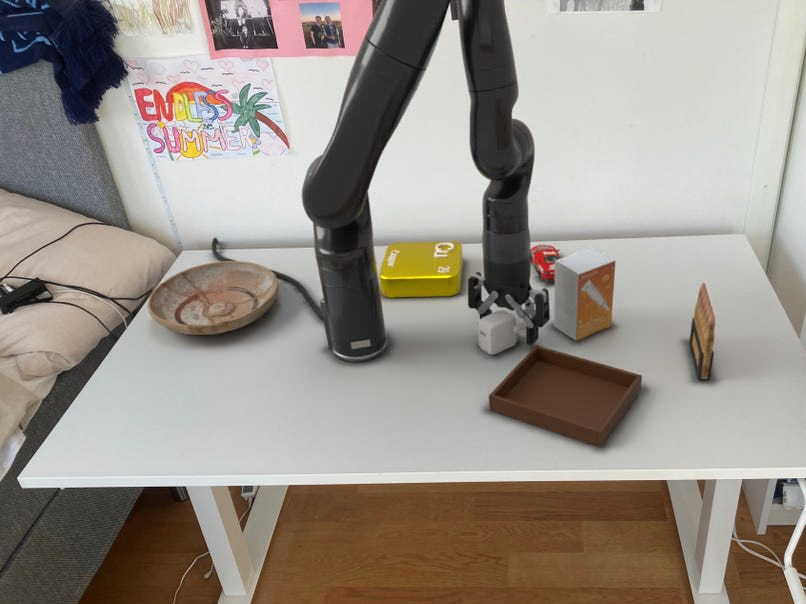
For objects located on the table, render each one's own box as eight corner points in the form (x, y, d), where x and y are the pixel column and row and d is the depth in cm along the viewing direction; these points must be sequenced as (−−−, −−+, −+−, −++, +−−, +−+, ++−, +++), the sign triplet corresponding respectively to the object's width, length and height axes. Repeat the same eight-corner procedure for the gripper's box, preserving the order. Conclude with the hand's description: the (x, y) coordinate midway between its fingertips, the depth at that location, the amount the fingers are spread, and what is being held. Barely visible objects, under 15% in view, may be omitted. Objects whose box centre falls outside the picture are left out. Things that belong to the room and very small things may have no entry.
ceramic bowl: (137, 352, 136) (128, 328, 133) (175, 286, 155) (168, 263, 152) (270, 344, 136) (264, 320, 133) (292, 279, 155) (287, 256, 152)
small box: (576, 342, 132) (578, 274, 125) (553, 326, 136) (553, 259, 129) (612, 326, 136) (616, 259, 128) (588, 311, 140) (591, 245, 133)
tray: (489, 410, 118) (488, 395, 117) (536, 359, 129) (536, 344, 127) (600, 447, 110) (601, 432, 108) (640, 389, 120) (642, 375, 119)
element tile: (390, 261, 160) (387, 239, 157) (463, 259, 159) (462, 237, 156) (380, 298, 147) (377, 276, 145) (459, 296, 146) (457, 274, 144)
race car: (527, 255, 159) (527, 237, 157) (553, 252, 159) (553, 234, 157) (541, 286, 148) (541, 267, 146) (569, 283, 149) (569, 264, 146)
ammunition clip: (688, 342, 130) (697, 279, 124) (700, 342, 130) (709, 279, 123) (697, 380, 122) (707, 315, 115) (710, 381, 121) (720, 315, 115)
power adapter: (525, 323, 138) (525, 294, 134) (544, 335, 134) (544, 305, 131) (475, 347, 132) (473, 317, 129) (493, 359, 129) (491, 329, 126)
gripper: (557, 250, 123) (556, 336, 132) (480, 232, 129) (484, 316, 138) (535, 270, 117) (535, 359, 127) (455, 251, 124) (461, 337, 133)
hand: (509, 336), depth 132 cm, fingers open, 8 cm apart
